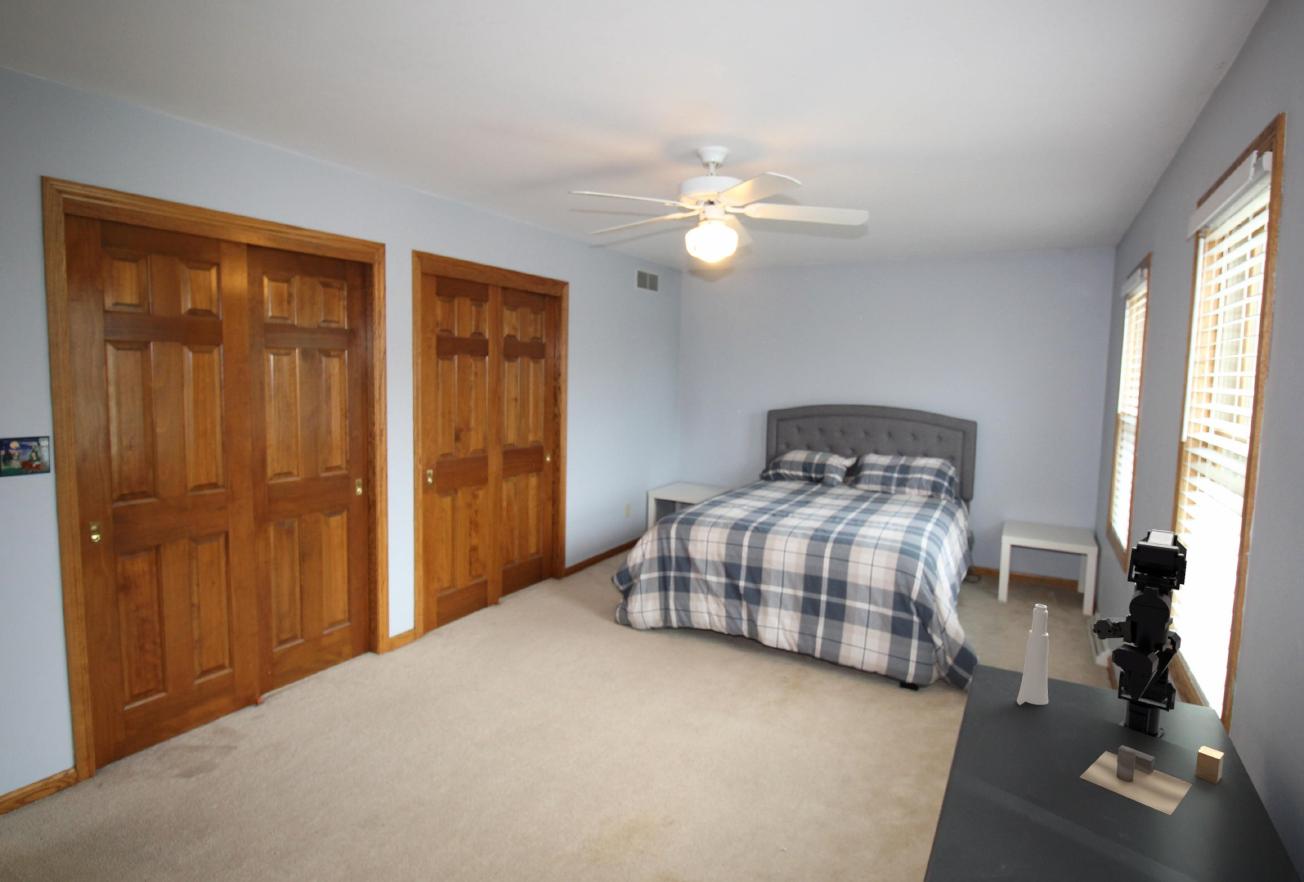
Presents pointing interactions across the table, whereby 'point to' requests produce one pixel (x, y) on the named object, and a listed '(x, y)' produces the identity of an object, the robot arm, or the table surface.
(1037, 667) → the cosmetic bottle
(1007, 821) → the table surface
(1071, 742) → the table surface
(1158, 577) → the robot arm
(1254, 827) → the table surface
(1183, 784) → the maple peg board
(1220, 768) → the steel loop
